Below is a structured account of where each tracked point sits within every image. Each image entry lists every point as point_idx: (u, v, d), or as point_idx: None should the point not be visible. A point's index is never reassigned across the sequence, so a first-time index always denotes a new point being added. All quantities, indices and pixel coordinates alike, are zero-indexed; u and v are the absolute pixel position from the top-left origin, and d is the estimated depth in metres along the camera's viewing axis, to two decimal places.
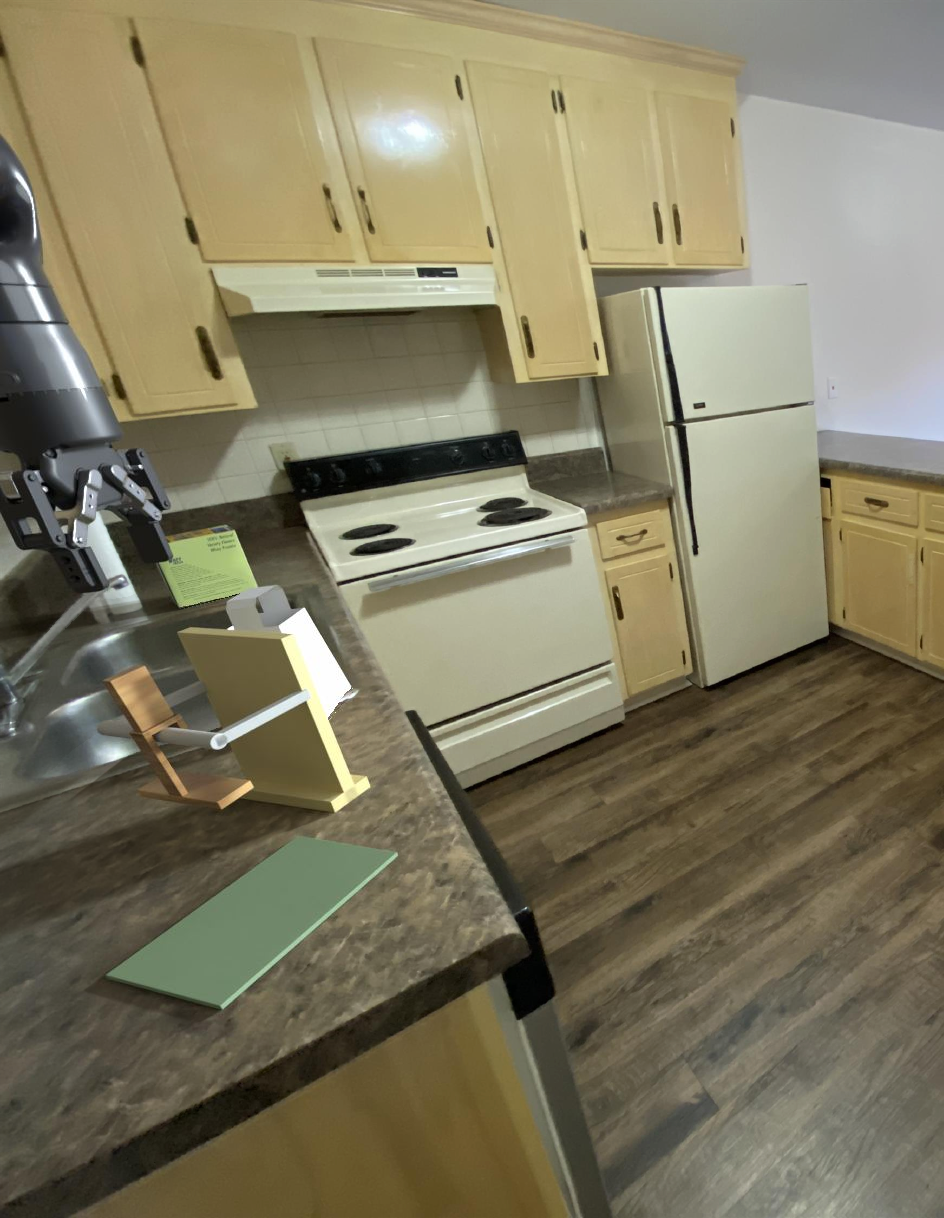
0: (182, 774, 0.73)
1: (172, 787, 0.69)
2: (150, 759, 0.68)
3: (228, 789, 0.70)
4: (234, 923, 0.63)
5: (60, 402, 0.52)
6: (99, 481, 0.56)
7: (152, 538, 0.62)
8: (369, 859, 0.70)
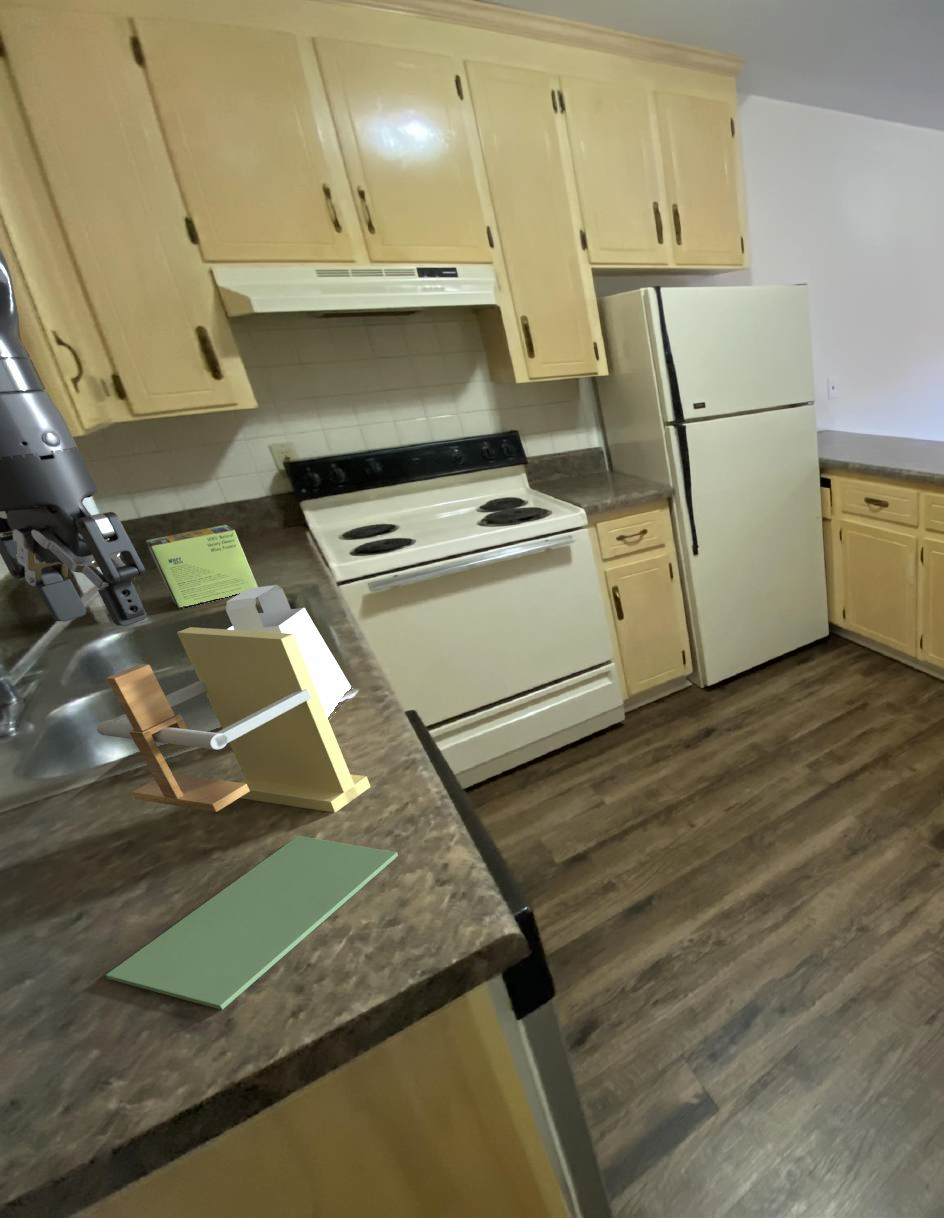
0: (178, 777, 0.73)
1: (168, 788, 0.69)
2: (148, 759, 0.68)
3: (224, 792, 0.70)
4: (234, 923, 0.63)
5: (80, 457, 0.60)
6: None
7: (69, 594, 0.64)
8: (369, 859, 0.70)
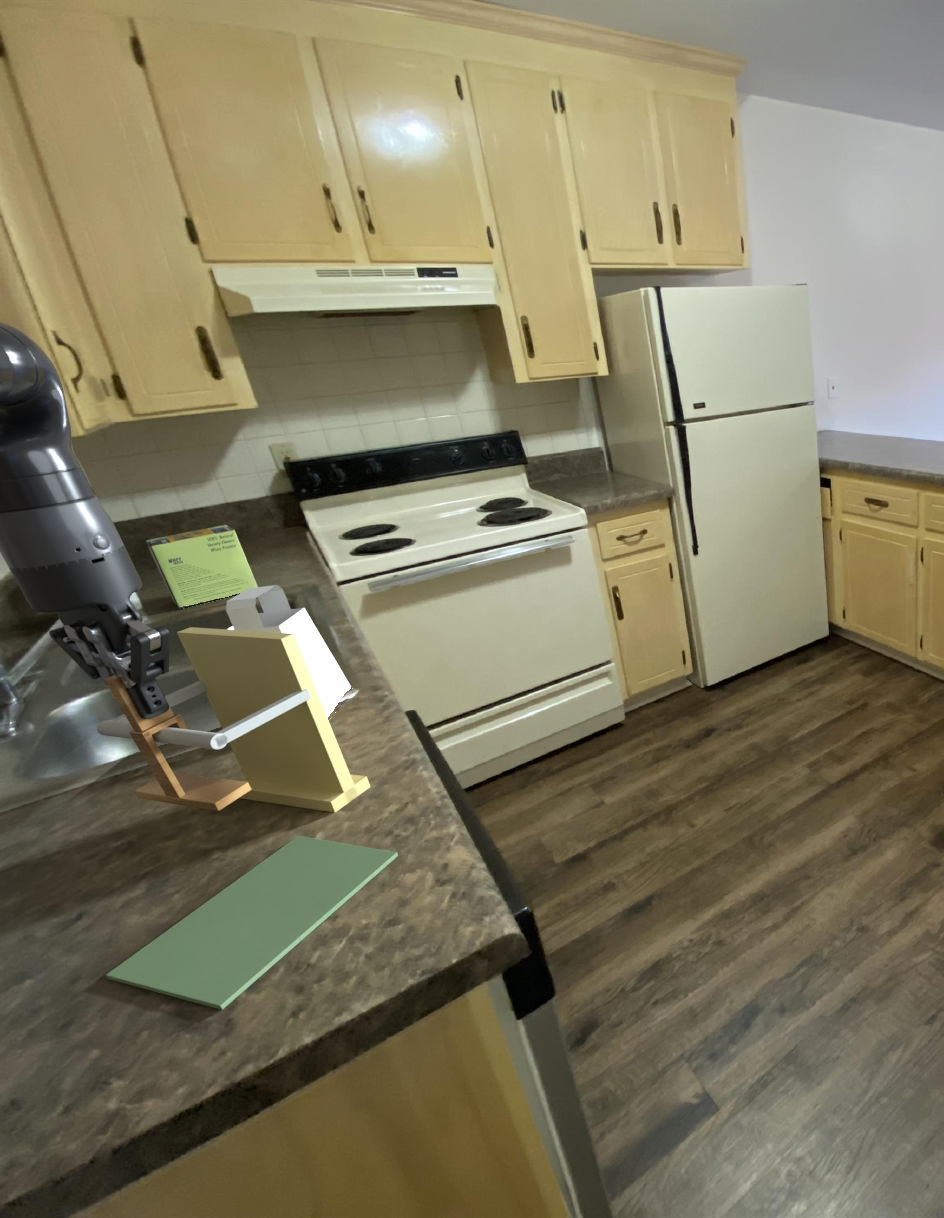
0: (180, 776, 0.73)
1: (170, 788, 0.69)
2: (148, 759, 0.68)
3: (225, 791, 0.70)
4: (234, 923, 0.63)
5: (127, 555, 0.63)
6: None
7: None
8: (369, 859, 0.70)
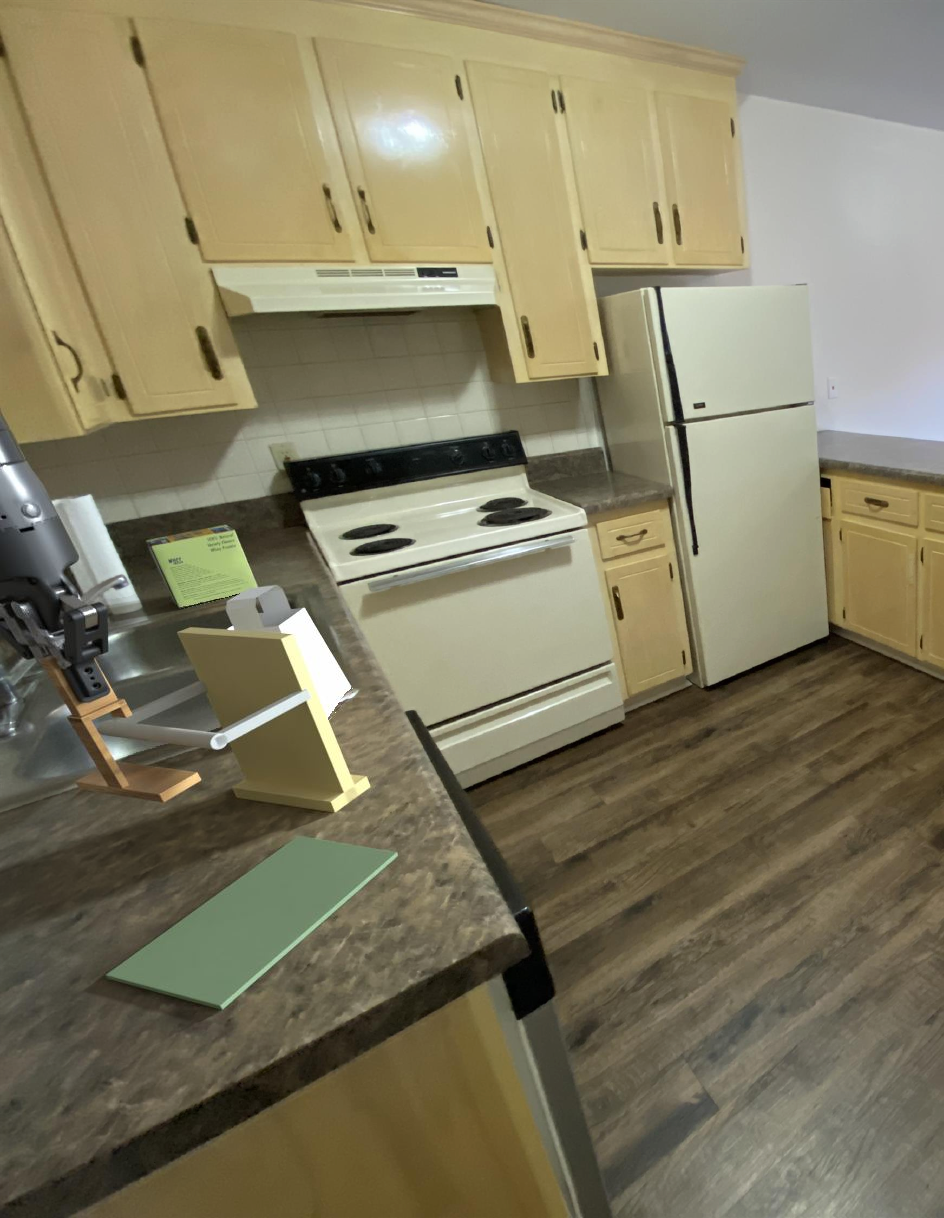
0: (125, 766, 0.69)
1: (112, 778, 0.65)
2: (88, 747, 0.63)
3: (172, 781, 0.65)
4: (234, 923, 0.63)
5: (61, 526, 0.59)
6: None
7: None
8: (369, 859, 0.70)
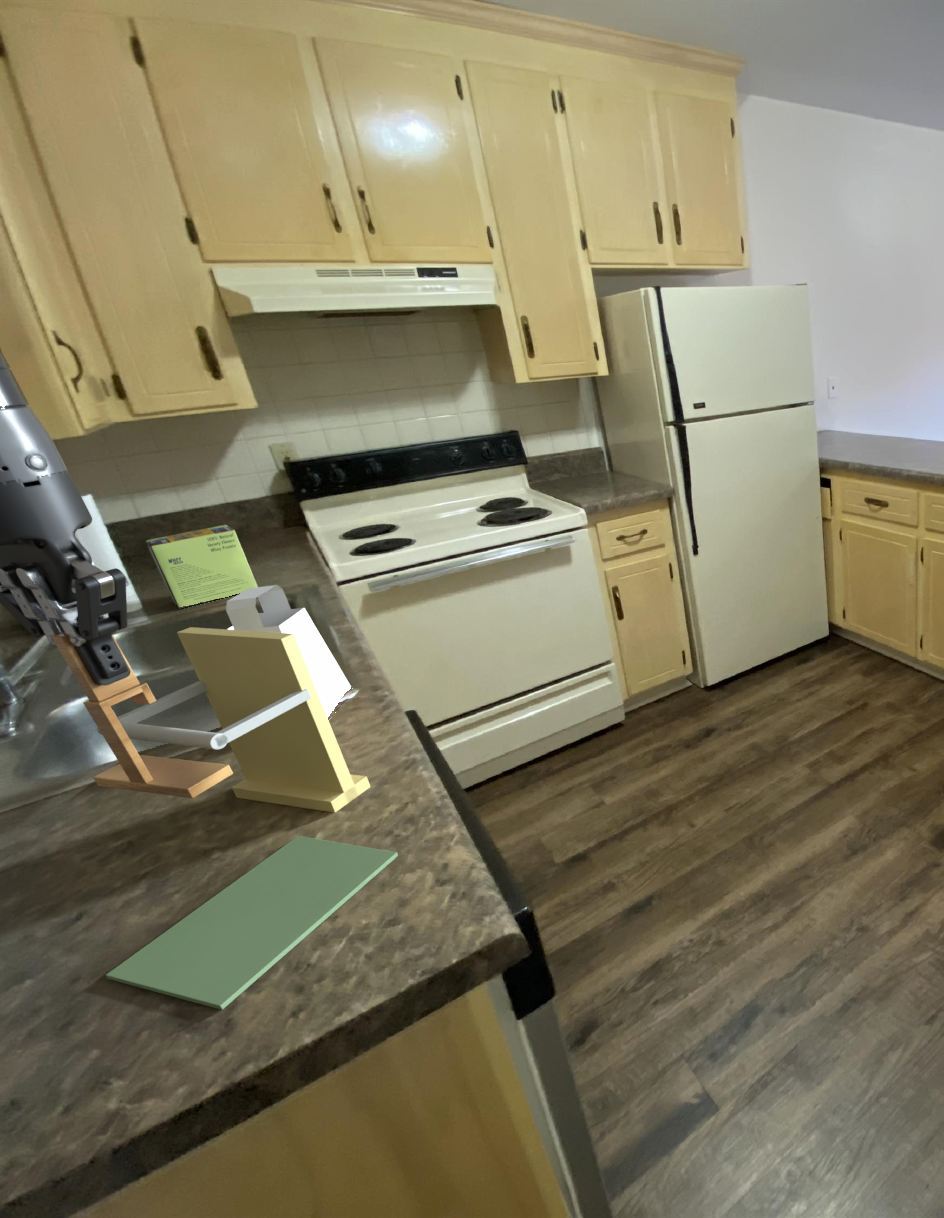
0: (149, 759, 0.62)
1: (134, 772, 0.57)
2: (108, 737, 0.56)
3: (202, 775, 0.58)
4: (234, 923, 0.63)
5: (71, 482, 0.52)
6: None
7: None
8: (369, 859, 0.70)
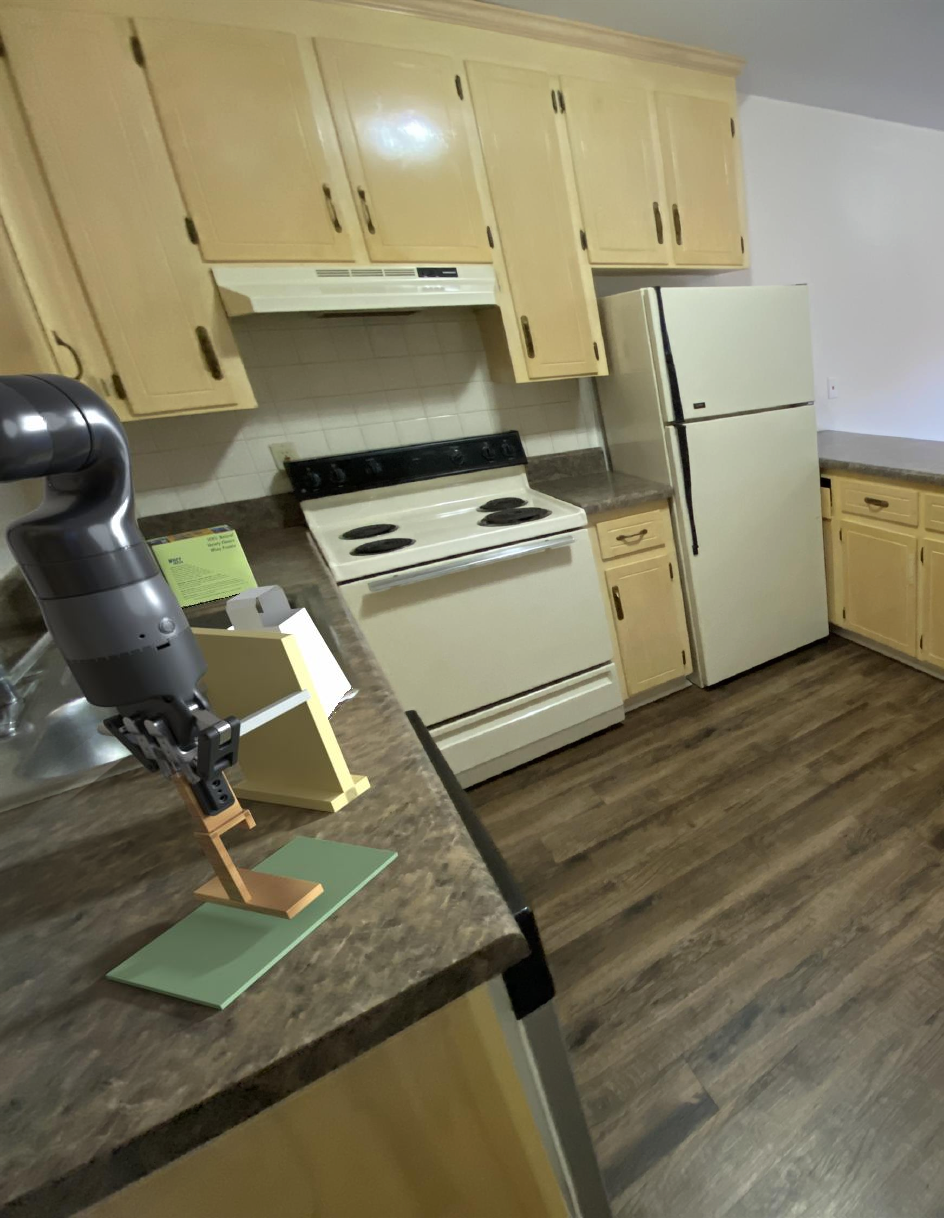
0: (242, 873, 0.66)
1: (235, 892, 0.62)
2: (214, 862, 0.61)
3: (297, 895, 0.63)
4: (234, 923, 0.63)
5: (192, 636, 0.56)
6: None
7: None
8: (369, 859, 0.70)
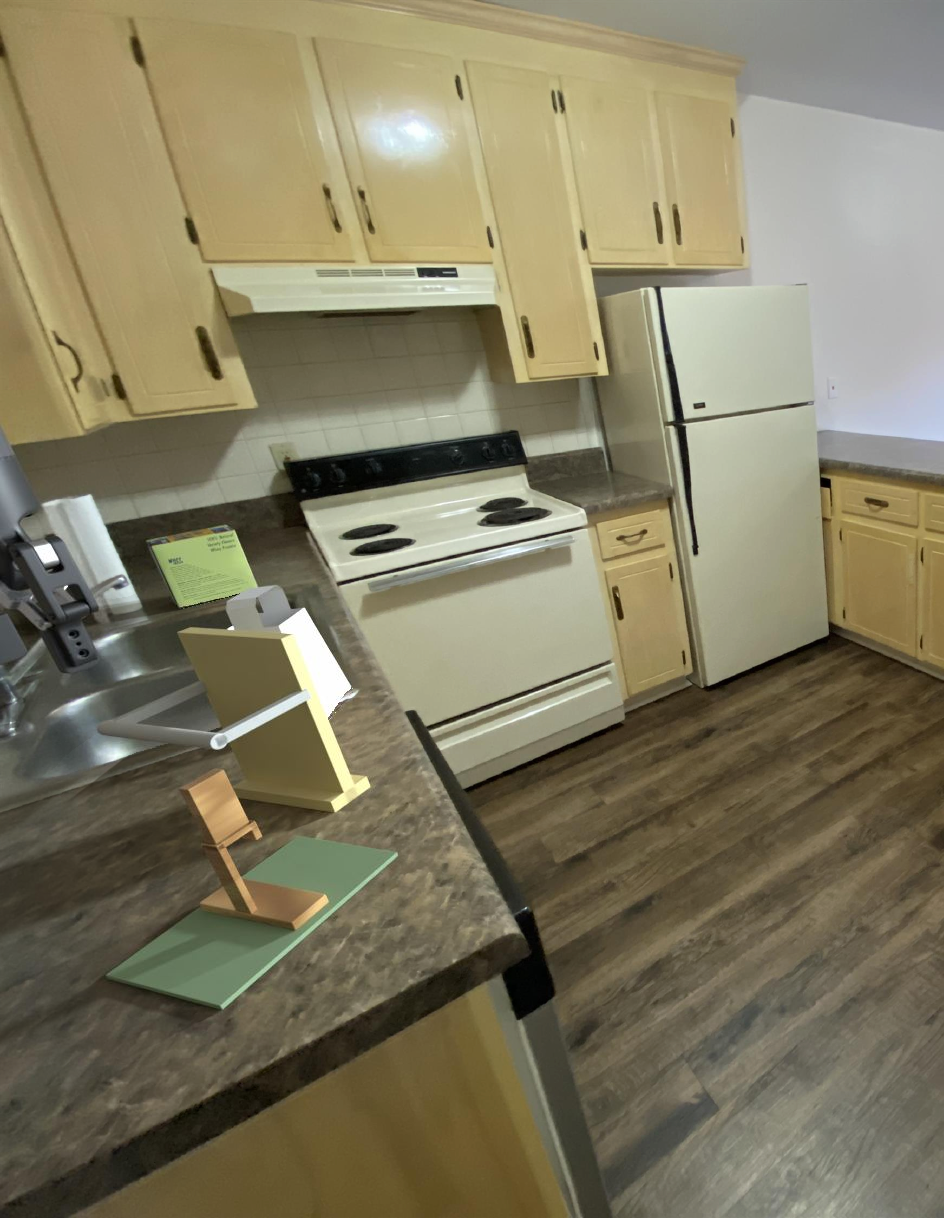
0: (248, 884, 0.66)
1: (241, 903, 0.62)
2: (220, 873, 0.61)
3: (302, 906, 0.63)
4: (234, 923, 0.63)
5: (18, 468, 0.48)
6: None
7: (5, 632, 0.53)
8: (369, 859, 0.70)
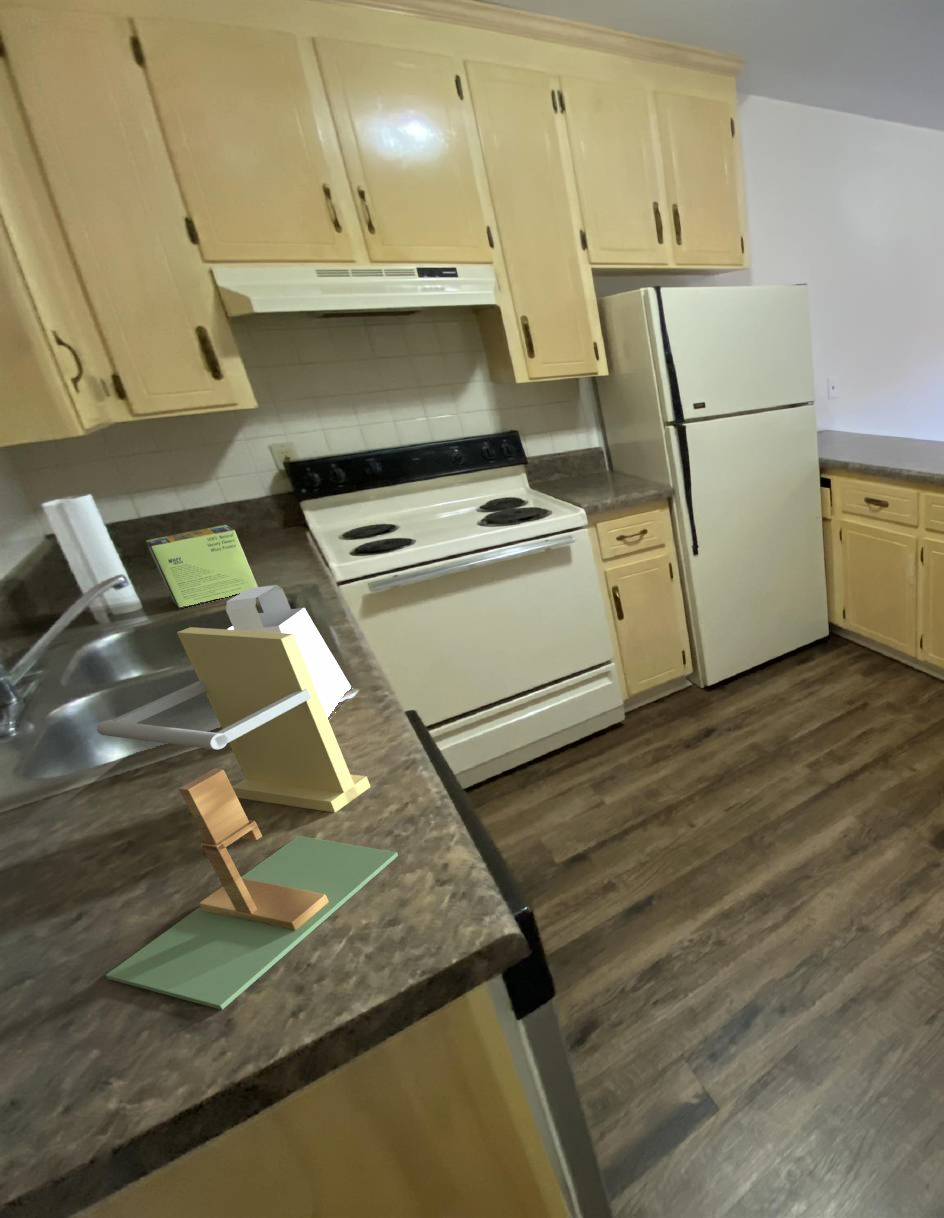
0: (248, 884, 0.66)
1: (241, 903, 0.62)
2: (220, 873, 0.61)
3: (302, 906, 0.63)
4: (234, 923, 0.63)
5: None
6: None
7: None
8: (369, 859, 0.70)
